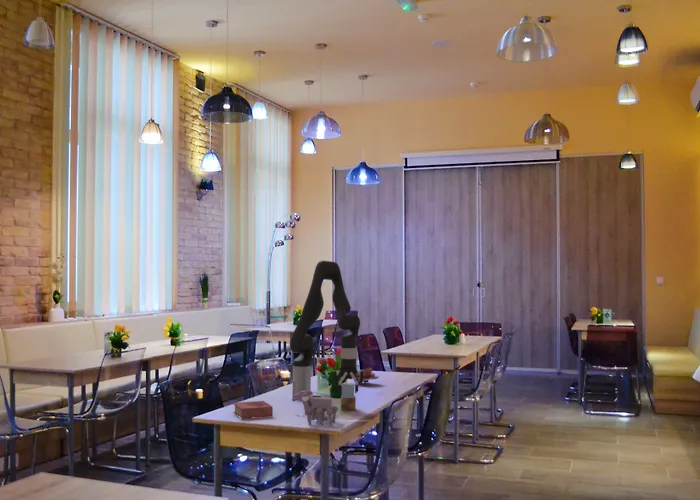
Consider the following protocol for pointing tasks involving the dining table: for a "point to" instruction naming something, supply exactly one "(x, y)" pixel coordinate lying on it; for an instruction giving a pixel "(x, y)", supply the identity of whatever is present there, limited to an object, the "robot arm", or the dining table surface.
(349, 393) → the grey cube
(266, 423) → the dining table surface
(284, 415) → the dining table surface
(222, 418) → the dining table surface
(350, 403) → the brown wooden cube
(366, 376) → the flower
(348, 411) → the build board
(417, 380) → the dining table surface
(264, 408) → the book
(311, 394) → the toy sheep
